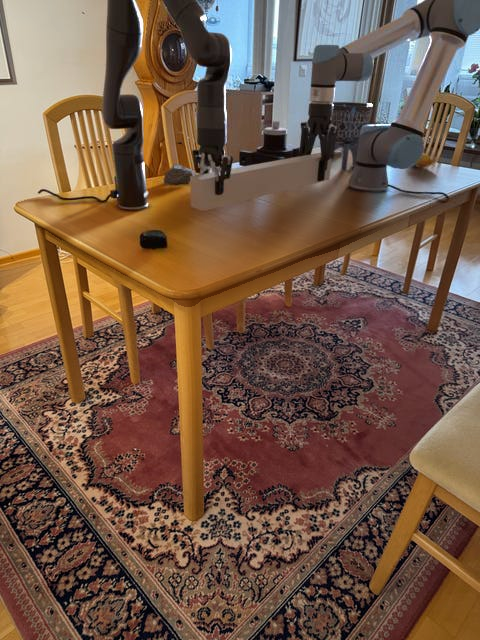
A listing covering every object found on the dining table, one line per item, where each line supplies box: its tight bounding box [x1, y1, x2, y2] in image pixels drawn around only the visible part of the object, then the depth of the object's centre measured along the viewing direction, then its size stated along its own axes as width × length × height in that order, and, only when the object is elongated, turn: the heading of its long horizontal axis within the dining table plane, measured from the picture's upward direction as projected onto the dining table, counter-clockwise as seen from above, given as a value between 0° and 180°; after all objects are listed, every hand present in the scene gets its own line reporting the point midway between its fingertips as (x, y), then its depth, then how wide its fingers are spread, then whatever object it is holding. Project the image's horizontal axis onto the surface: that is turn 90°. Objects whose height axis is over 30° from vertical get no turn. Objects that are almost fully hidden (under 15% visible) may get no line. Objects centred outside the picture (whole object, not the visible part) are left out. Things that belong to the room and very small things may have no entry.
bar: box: [189, 152, 333, 211], centre depth 137 cm, size 56×5×8 cm, turn 134°
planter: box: [327, 101, 374, 172], centre depth 204 cm, size 20×20×26 cm
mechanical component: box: [238, 120, 303, 167], centre depth 191 cm, size 22×21×30 cm
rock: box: [163, 163, 197, 186], centre depth 176 cm, size 13×9×6 cm, turn 131°
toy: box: [413, 152, 435, 169], centre depth 214 cm, size 11×6×15 cm
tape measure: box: [139, 229, 168, 250], centre depth 117 cm, size 7×7×4 cm
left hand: (212, 192), depth 123 cm, fingers closed on bar, 5 cm apart
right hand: (313, 178), depth 152 cm, fingers closed on bar, 5 cm apart
